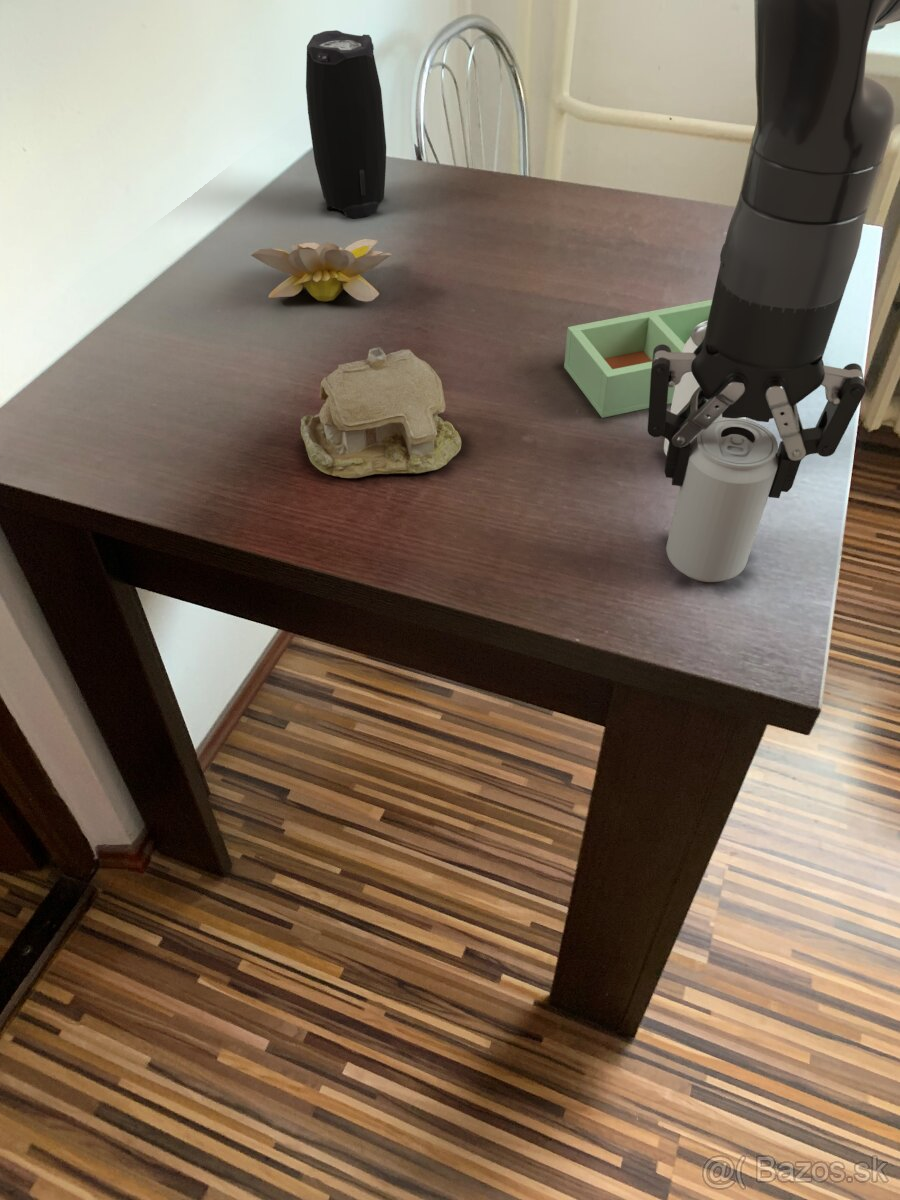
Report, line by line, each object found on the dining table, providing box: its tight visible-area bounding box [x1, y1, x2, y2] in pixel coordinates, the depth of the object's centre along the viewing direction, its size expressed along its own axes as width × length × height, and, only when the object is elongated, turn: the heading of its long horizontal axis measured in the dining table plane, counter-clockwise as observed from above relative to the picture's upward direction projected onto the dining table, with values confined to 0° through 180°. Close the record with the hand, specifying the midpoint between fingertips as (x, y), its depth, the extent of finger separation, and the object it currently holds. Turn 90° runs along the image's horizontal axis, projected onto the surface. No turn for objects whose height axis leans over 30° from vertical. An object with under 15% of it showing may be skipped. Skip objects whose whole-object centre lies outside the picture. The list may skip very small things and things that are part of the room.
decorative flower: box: [250, 238, 392, 303], centre depth 99 cm, size 15×11×10 cm
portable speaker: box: [305, 29, 387, 219], centre depth 111 cm, size 9×9×20 cm
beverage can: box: [665, 418, 779, 583], centre depth 67 cm, size 6×6×12 cm
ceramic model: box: [300, 346, 462, 479], centre depth 79 cm, size 14×11×10 cm
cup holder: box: [563, 299, 713, 419], centre depth 88 cm, size 9×18×5 cm, turn 108°
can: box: [663, 320, 747, 456], centre depth 76 cm, size 6×6×12 cm
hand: (724, 484), depth 66 cm, fingers closed on beverage can, 6 cm apart
